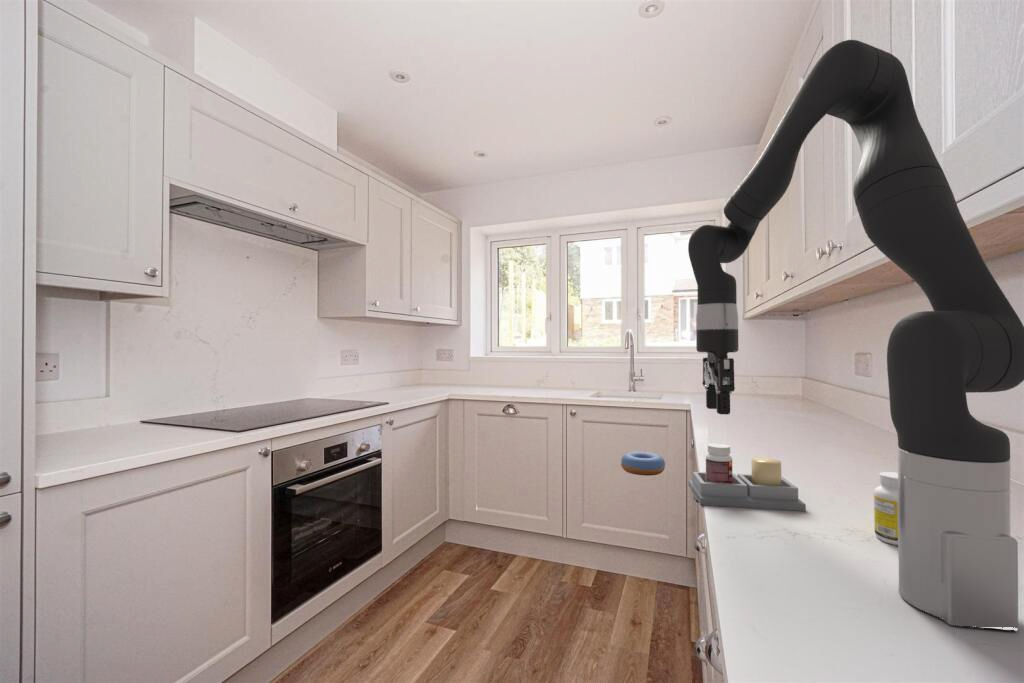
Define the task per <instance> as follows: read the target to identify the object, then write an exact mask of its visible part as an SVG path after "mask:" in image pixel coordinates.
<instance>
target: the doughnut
mask: <svg viewBox="0 0 1024 683" xmlns="http://www.w3.org/2000/svg"><path fill="white" fill-rule="evenodd" d="M620 462H621V463H620V466H621V468H622V469H623V471H624V472H626V473H629V474H632V475H637V476H647V477H648V476H657V475H660V474H662V473H663V471H665V469H666V461H665V459H664V458H663V457H662V456H661V455H659V454H657V453H654V452H649V451H648V452H647V451H631V452H627V453H624V454H623V456H622V457H621V461H620Z"/></svg>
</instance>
